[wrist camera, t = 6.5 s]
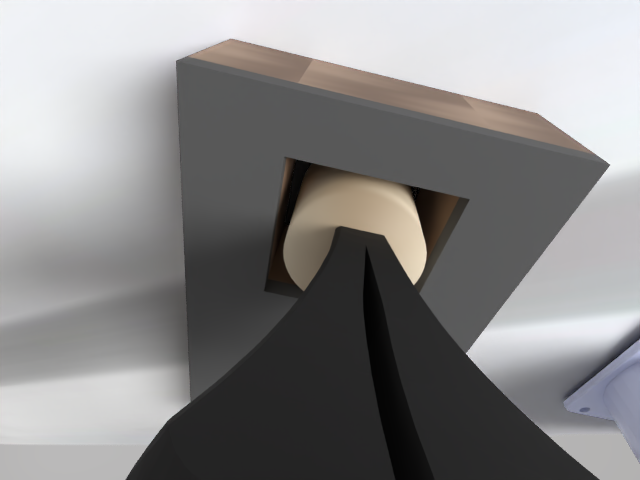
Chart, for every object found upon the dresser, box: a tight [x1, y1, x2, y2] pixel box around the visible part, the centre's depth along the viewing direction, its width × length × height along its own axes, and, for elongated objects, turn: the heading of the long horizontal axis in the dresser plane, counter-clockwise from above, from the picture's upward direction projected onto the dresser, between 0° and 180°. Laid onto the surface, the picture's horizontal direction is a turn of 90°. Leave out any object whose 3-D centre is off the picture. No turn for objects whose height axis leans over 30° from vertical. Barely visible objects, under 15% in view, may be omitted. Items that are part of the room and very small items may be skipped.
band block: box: [176, 39, 610, 402], centre depth 16 cm, size 10×21×4 cm, turn 168°
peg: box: [283, 163, 427, 291], centre depth 11 cm, size 4×4×4 cm
